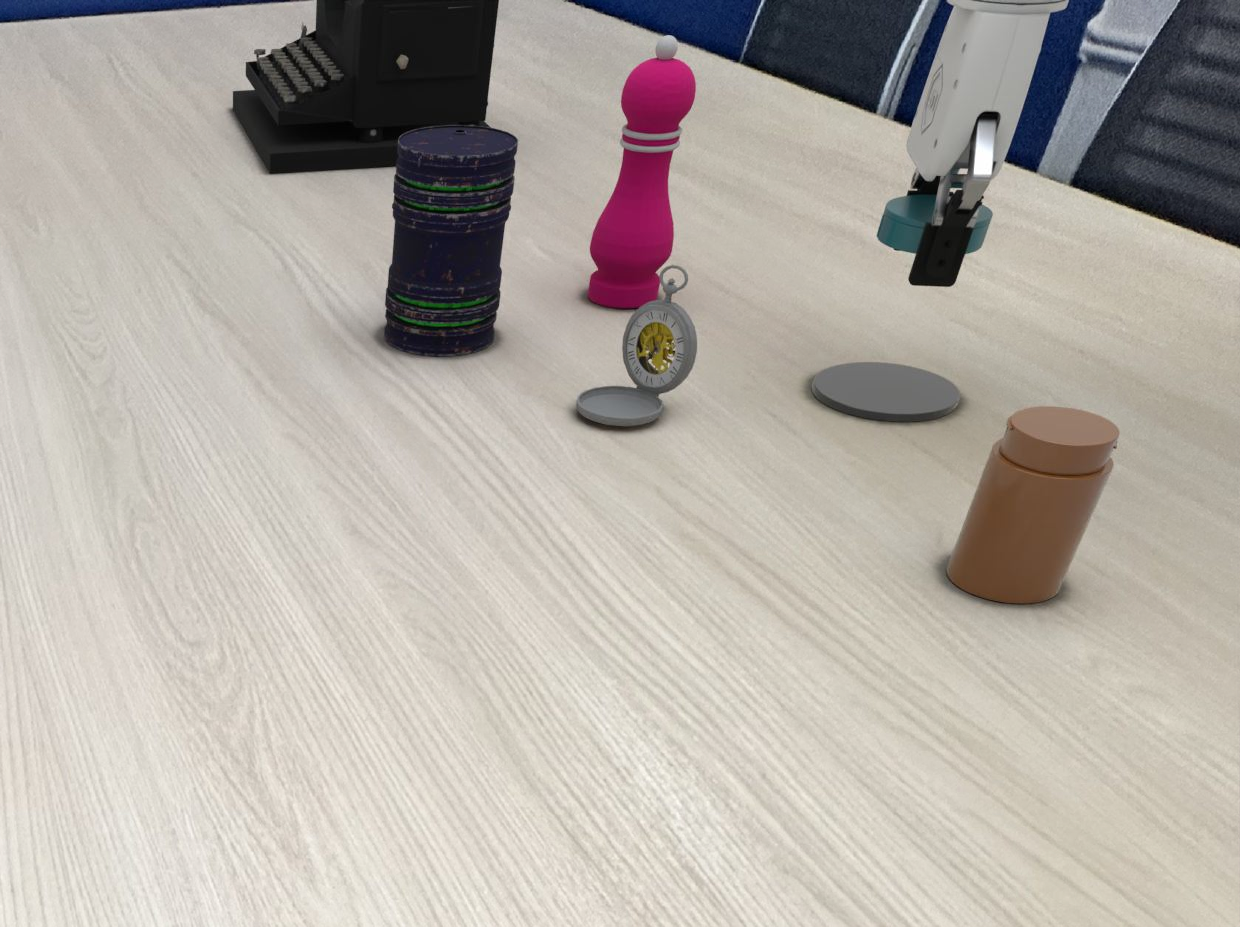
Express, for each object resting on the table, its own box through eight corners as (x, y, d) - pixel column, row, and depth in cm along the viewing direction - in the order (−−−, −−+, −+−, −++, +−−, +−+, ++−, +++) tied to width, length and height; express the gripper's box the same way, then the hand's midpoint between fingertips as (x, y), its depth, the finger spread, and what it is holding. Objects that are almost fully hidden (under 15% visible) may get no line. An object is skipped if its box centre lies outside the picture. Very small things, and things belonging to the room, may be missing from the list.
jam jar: (1046, 558, 95) (1111, 406, 88) (1070, 607, 90) (1141, 451, 84) (937, 551, 96) (993, 400, 89) (956, 600, 92) (1016, 445, 85)
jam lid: (882, 253, 105) (891, 221, 104) (869, 223, 110) (878, 192, 109) (990, 258, 104) (1001, 226, 103) (972, 227, 109) (983, 196, 108)
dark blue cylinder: (492, 359, 123) (517, 158, 112) (377, 354, 124) (390, 155, 113) (497, 319, 129) (521, 125, 119) (388, 314, 131) (402, 123, 120)
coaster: (944, 372, 118) (947, 364, 118) (969, 425, 110) (972, 417, 110) (804, 366, 120) (806, 358, 119) (819, 418, 112) (822, 410, 112)
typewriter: (232, 109, 186) (232, -141, 169) (437, 97, 188) (459, -152, 170) (269, 173, 165) (274, -106, 147) (501, 159, 166) (533, -119, 148)
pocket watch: (568, 425, 112) (591, 286, 105) (585, 386, 118) (608, 251, 111) (676, 438, 110) (707, 296, 103) (688, 397, 116) (718, 260, 109)
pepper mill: (630, 316, 129) (680, 48, 115) (565, 298, 133) (605, 36, 119) (678, 297, 132) (732, 34, 118) (613, 279, 136) (658, 22, 122)
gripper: (932, -46, 102) (853, 230, 115) (979, 1, 90) (885, 304, 103) (1045, -45, 101) (953, 233, 114) (1107, 3, 89) (997, 309, 102)
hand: (921, 265), depth 108 cm, fingers closed on jam lid, 7 cm apart
